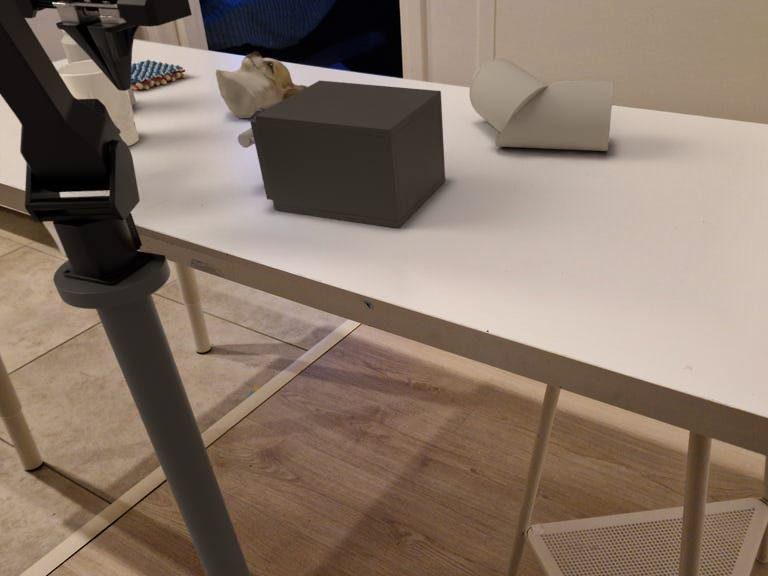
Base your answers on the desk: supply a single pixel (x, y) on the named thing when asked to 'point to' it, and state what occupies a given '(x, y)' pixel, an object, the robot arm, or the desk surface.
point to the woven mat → (153, 74)
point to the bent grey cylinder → (542, 108)
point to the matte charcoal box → (354, 151)
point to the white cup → (101, 95)
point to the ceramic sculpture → (255, 85)
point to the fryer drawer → (253, 138)
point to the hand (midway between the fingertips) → (124, 89)
